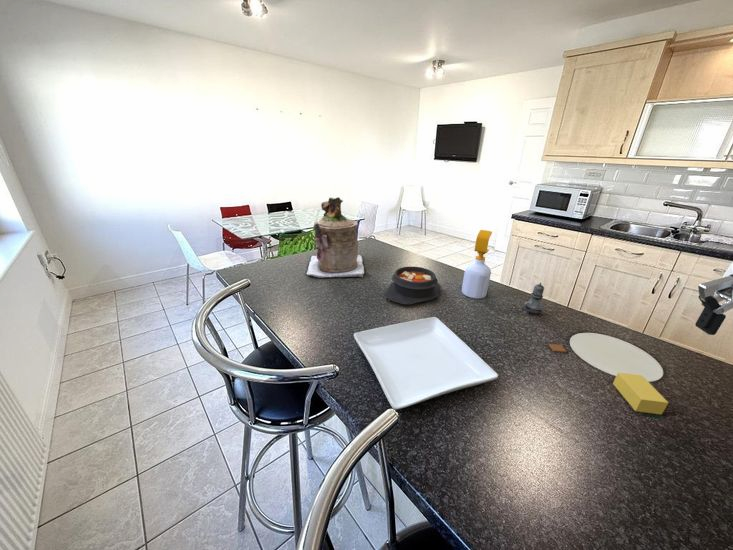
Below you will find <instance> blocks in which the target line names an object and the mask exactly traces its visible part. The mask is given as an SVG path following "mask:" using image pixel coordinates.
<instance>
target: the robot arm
mask: <svg viewBox="0 0 733 550" xmlns="http://www.w3.org/2000/svg"><path fill="white" fill-rule="evenodd" d="M697 288H698V289H697V290H698V299H699V301H700V302H701V306H702V307H703V309H702V311H701V312H700V314H699V316H698V318H697V320H696V322H695V324H694V325H695V327H696V328H697V329H699V330H701V331H703V332H704V333H705V334H707V335H710V336H714V335H716V334H717V333H718V331H719V329H720V328H721V326H722V324H723V323H724V321H725V320H726V317H727V315H726V314H725V313H726V312H728V311H730V310H731V309H733V261H731V262H730V265H729V266H728V268H727V269H726V271H725V272H724V274H723V275H722V277H721V278H720V277H719V278H716V279H713V280H710V281H706V282H703V283H699V284H698V287H697ZM722 301H725V302H723V303H721V304H720V302H722Z"/></svg>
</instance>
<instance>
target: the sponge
mask: <svg viewBox="0 0 733 550" xmlns="http://www.w3.org/2000/svg"><path fill="white" fill-rule="evenodd" d="M612 385H613V386H614V387H615V388H616V390H617V391H618V392H619V393H620V395H621V396H622V397H623V398H624V399H625V401H626V402H627V403H628V405H629V406H630V407H631V408H632V409H633V411H634V412H639V413H646V414H635V416H638V417H645V418H651V419H660V418H661V416H662V415H663V413H664V411H665V410H666V408H667V407H668V404H669V401H668V400H667V399H666V398H665V397H664V396H663V395H662V394H661V393H660V392H659V391H658V390H657V389H656V388H655V387H654V386H653V385H652V384H651V382H648V381H647V380H646V379H645V378H644V377H643V376H642V375H635V374H627V373H618V374H617V376H615V378H614V380H613V382H612ZM647 413H648V414H647ZM651 414H652V415H651Z"/></svg>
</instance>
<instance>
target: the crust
mask: <svg viewBox="0 0 733 550" xmlns="http://www.w3.org/2000/svg"><path fill="white" fill-rule="evenodd" d="M547 345H548V347H549V348H550V349H551V351H552V352H554V353H567V352H568V351H567V350H566V348H565V347H564V346H563V345H562V344H557V343H548V344H547Z"/></svg>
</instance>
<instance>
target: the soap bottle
mask: <svg viewBox="0 0 733 550" xmlns="http://www.w3.org/2000/svg"><path fill="white" fill-rule="evenodd" d="M492 235H493V232H492V230H486V229H480V230H479V232H478V233H477V236H476V240H475V244H474V252H476V253H477V254H478V255H476V256H475V259H474V262H471V263H469V264H467V265H466V267H465V268H464V273H463V279H462V285H461V293H462V294H463V295H464V296H465V297H468V298H471V299H478V300H479V299H484V298H486V296H487V293H488V290H489V285H490V280H491V275H492V271H491V270H492V269H491V268H490V267H489V266H488V265H487V264H486V263H485V262H486V256H484V255H485V254H488V252H489V251H490V249H489V248H488V246H489V241H490V238H491V236H492Z"/></svg>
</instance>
